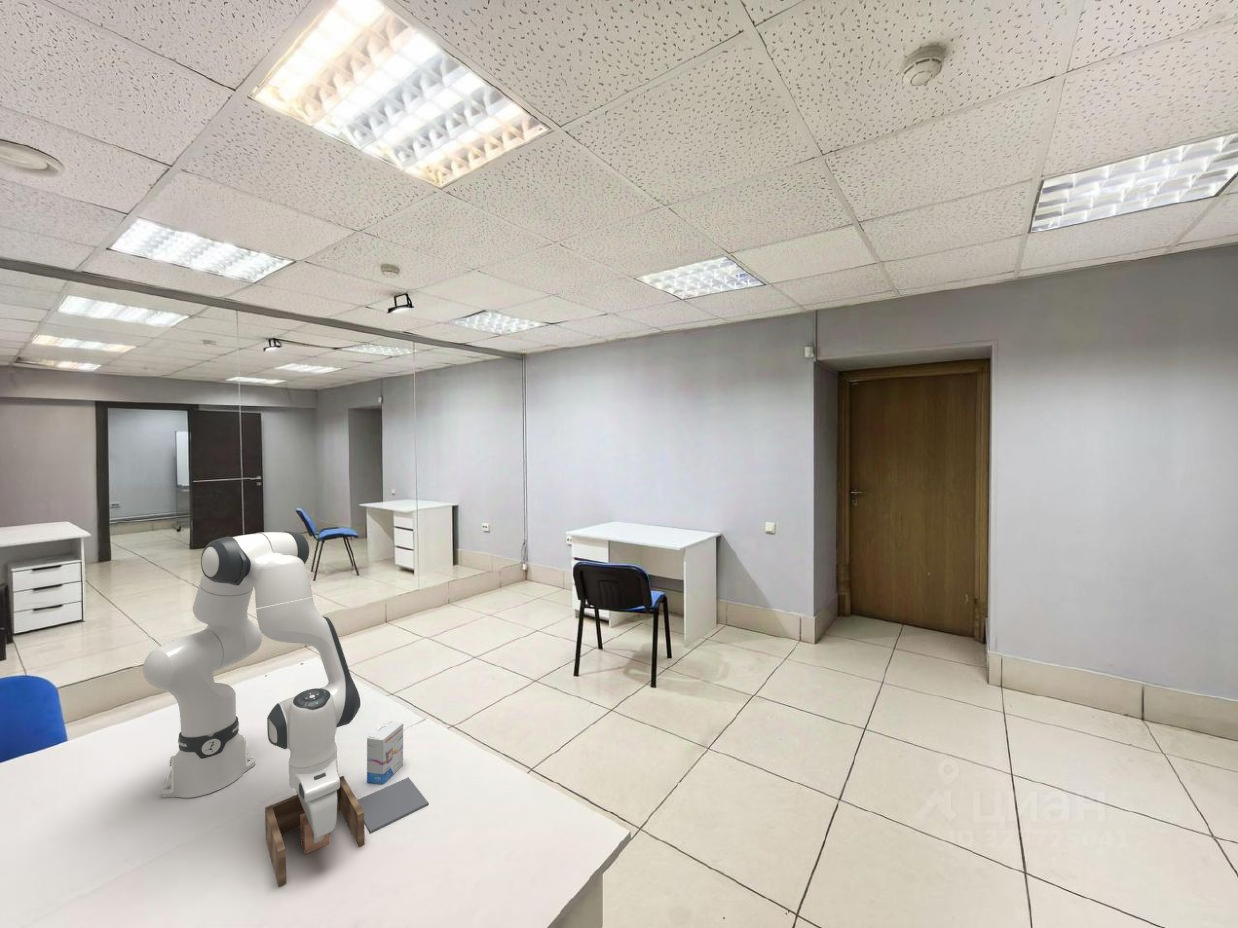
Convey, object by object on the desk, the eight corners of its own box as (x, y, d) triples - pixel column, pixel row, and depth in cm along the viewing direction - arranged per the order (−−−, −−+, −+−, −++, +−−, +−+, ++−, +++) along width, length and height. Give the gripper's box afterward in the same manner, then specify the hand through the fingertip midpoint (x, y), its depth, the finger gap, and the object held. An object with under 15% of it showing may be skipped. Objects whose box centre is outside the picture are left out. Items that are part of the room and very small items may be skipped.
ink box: (383, 785, 125) (382, 739, 125) (366, 782, 126) (365, 737, 126) (404, 764, 134) (403, 721, 134) (388, 762, 135) (387, 719, 135)
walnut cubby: (265, 838, 108) (264, 807, 108) (343, 804, 119) (343, 775, 118) (278, 886, 96) (278, 851, 96) (364, 843, 106) (364, 811, 106)
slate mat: (353, 803, 119) (353, 801, 119) (408, 778, 128) (408, 776, 128) (370, 833, 109) (370, 831, 109) (428, 804, 118) (428, 802, 118)
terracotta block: (300, 842, 107) (300, 814, 107) (324, 831, 110) (323, 804, 110) (305, 854, 104) (304, 826, 104) (329, 842, 107) (328, 815, 107)
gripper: (287, 753, 112) (288, 813, 112) (306, 799, 97) (308, 868, 97) (319, 742, 116) (320, 800, 117) (342, 784, 101) (343, 850, 102)
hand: (314, 831), depth 107 cm, fingers closed on terracotta block, 4 cm apart
